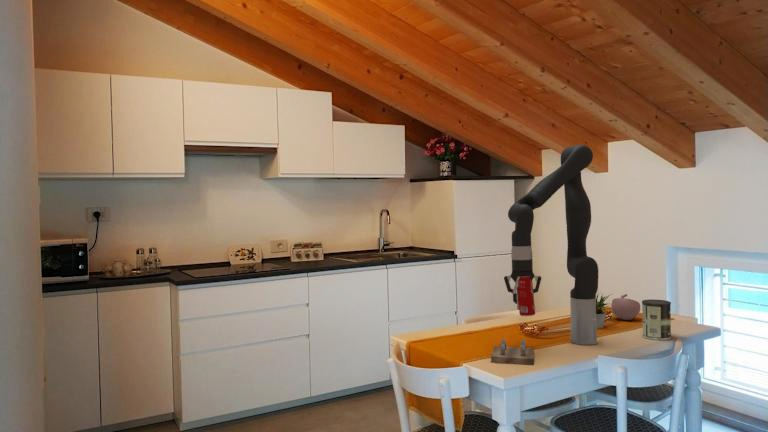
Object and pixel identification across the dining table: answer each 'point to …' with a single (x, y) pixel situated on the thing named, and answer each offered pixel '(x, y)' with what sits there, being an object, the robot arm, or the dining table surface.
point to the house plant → (600, 311)
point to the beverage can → (525, 296)
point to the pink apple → (625, 308)
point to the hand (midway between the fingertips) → (523, 303)
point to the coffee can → (656, 319)
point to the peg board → (513, 354)
